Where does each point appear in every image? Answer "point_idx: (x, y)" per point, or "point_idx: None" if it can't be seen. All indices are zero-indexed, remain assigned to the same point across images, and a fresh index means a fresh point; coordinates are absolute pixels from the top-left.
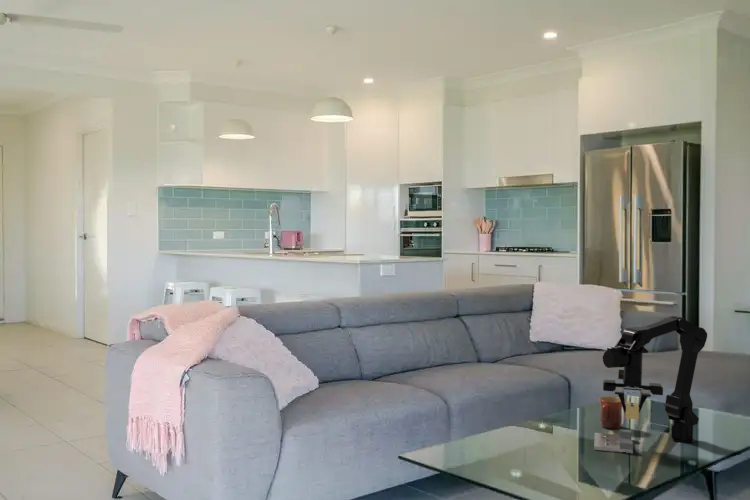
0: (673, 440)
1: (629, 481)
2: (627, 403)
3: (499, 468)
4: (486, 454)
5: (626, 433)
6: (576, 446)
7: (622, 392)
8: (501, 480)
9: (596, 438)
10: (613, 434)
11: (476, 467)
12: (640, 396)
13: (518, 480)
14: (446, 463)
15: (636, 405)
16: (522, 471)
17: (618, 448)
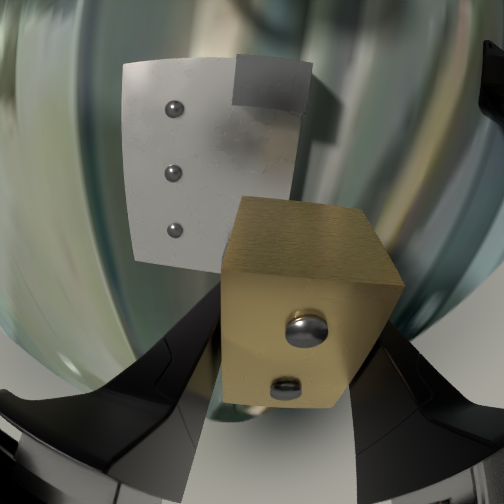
0: (479, 103)
1: None
2: (249, 333)
3: (47, 350)
4: (4, 299)
5: (276, 108)
6: (87, 226)
7: (160, 500)
8: (72, 379)
9: (130, 157)
10: (212, 61)
11: (29, 344)
12: (383, 467)
13: (86, 383)
14: (4, 329)
15: (334, 379)
16: (73, 362)
17: (220, 272)
